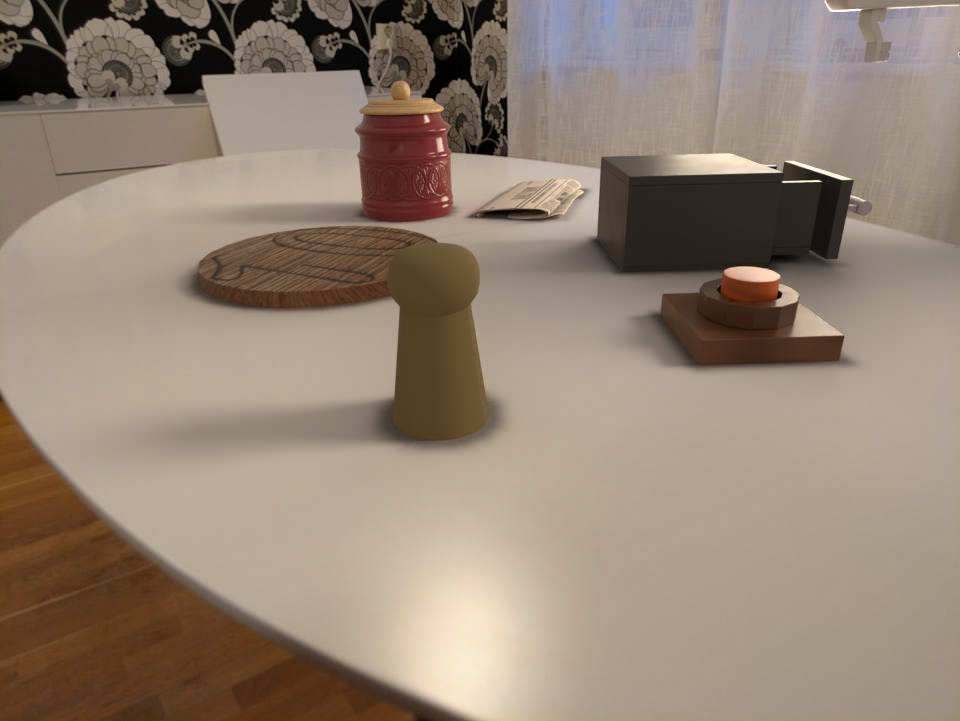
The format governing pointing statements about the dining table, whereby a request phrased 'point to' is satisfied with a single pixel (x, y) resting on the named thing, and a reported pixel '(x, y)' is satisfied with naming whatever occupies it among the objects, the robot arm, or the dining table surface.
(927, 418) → the dining table surface
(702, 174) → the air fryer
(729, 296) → the button
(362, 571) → the dining table surface
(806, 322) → the control block
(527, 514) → the dining table surface
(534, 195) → the newspaper
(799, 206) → the dark piece
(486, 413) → the olive game pawn
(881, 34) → the robot arm
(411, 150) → the kitchen canister
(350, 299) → the trivet
